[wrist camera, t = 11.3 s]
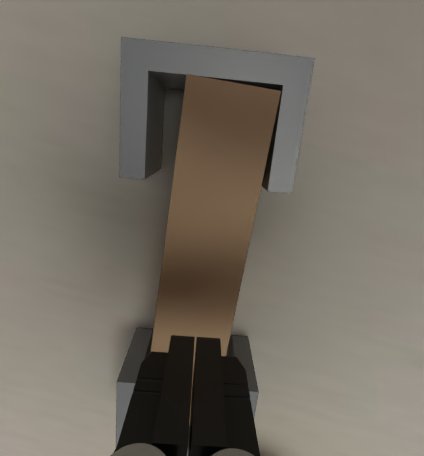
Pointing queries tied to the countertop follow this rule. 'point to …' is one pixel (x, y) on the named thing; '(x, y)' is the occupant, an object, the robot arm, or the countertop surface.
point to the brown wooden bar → (212, 207)
